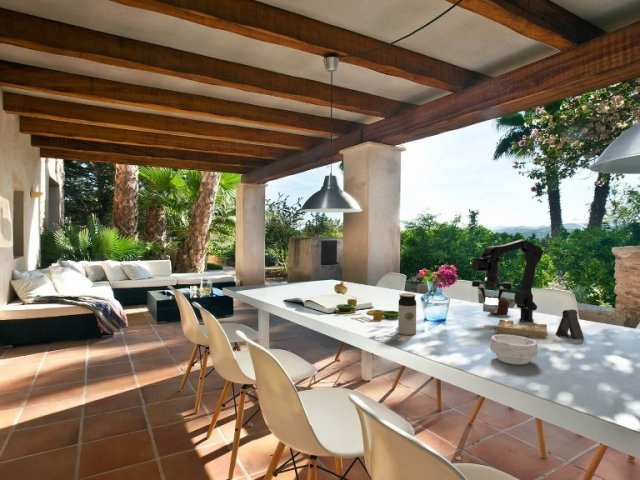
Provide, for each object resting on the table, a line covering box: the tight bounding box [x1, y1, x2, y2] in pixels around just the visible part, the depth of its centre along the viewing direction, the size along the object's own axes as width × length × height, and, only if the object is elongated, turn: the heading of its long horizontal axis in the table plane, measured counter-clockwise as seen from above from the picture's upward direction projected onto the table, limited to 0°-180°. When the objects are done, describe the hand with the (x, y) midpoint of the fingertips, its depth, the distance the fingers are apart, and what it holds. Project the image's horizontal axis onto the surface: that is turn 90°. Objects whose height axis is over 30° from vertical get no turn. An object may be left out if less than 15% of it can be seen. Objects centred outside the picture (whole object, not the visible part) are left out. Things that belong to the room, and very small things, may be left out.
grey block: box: [482, 297, 499, 313], centre depth 208 cm, size 10×6×4 cm, turn 149°
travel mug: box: [397, 292, 417, 336], centre depth 187 cm, size 8×8×18 cm
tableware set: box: [333, 298, 398, 323], centre depth 232 cm, size 41×28×6 cm
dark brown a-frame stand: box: [555, 308, 585, 341], centre depth 182 cm, size 9×6×12 cm, turn 26°
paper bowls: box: [490, 334, 538, 366], centre depth 148 cm, size 15×15×8 cm
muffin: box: [489, 295, 511, 317], centre depth 232 cm, size 12×11×10 cm
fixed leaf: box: [495, 319, 548, 339], centre depth 189 cm, size 14×20×4 cm
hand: (491, 301), depth 210 cm, fingers closed on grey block, 6 cm apart
